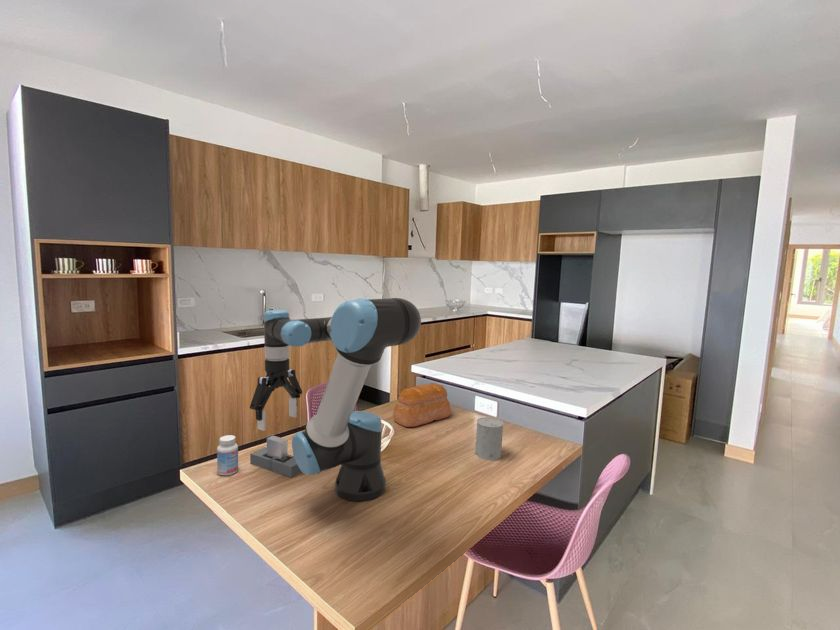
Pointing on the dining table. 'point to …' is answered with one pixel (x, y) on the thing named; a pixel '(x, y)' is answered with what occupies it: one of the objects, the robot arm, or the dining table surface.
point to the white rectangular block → (277, 448)
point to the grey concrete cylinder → (489, 438)
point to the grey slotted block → (274, 463)
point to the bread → (421, 405)
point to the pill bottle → (227, 456)
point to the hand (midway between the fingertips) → (277, 422)
